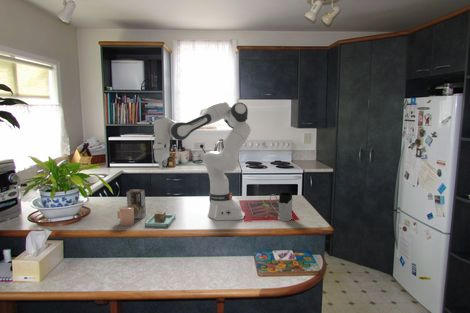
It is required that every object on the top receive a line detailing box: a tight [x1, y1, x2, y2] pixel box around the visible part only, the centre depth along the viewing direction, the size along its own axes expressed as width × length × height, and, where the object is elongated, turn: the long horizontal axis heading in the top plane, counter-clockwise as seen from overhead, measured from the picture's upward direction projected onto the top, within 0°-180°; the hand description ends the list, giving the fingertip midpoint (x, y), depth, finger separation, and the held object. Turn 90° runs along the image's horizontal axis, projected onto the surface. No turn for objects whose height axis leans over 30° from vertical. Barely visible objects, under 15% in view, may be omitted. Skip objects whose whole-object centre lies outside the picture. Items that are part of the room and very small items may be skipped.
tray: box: [144, 213, 176, 228], centre depth 187 cm, size 13×16×2 cm
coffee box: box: [126, 188, 147, 219], centre depth 195 cm, size 9×6×16 cm
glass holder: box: [269, 192, 293, 222], centre depth 195 cm, size 9×14×15 cm, turn 64°
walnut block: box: [153, 210, 167, 223], centre depth 187 cm, size 5×5×5 cm
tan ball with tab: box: [116, 205, 135, 227], centre depth 184 cm, size 9×8×9 cm
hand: (163, 167), depth 196 cm, fingers open, 8 cm apart
